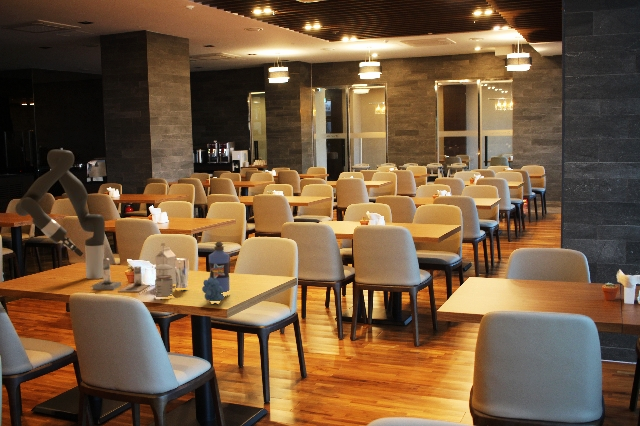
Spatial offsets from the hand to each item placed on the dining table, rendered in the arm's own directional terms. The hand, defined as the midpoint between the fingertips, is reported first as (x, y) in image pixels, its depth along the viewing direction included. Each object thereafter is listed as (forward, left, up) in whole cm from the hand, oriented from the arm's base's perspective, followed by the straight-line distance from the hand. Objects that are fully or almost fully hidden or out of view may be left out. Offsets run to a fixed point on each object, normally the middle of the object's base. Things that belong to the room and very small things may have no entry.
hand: (80, 253), depth 335 cm
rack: (-5, +24, -18) cm, 31 cm away
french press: (+8, +42, -18) cm, 47 cm away
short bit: (-9, +24, -17) cm, 31 cm away
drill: (-6, +10, -17) cm, 21 cm away
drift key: (-12, +2, -19) cm, 22 cm away
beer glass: (-8, +46, -18) cm, 50 cm away
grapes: (+23, +68, -18) cm, 74 cm away
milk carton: (-16, +36, -18) cm, 43 cm away
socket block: (-6, +10, -18) cm, 21 cm away
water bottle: (+3, +67, -18) cm, 69 cm away
